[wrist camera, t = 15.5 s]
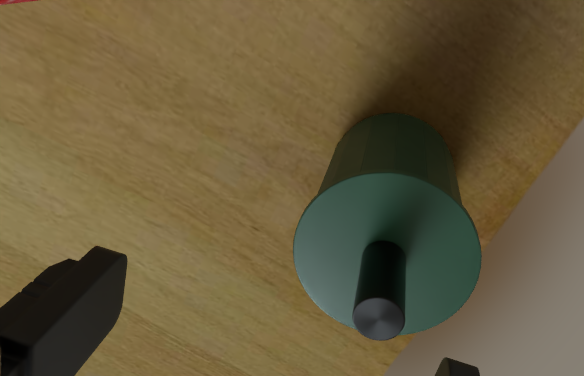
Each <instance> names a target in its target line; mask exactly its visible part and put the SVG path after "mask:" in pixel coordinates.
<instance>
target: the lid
mask: <svg viewBox="0 0 584 376" xmlns="http://www.w3.org/2000/svg"><path fill="white" fill-rule="evenodd" d="M293 256H294V263H295V268H296V272H297V274H298V277H299V279H300V282H301V284H302V285H303V287H304V289H305V291H306V292H307V294H308V295H309V296H310V298H311V299H312V300H313V301H314V302H315V303H316V304H317V306H318V307H319V308H321V309H322V310H323V311H324V312H325V313H326V314H328V315H329V316H331V317H332V318H334V319H335V320H337V321H339V322H340V323H342V324H344V325H346V326H349V327H351V328H354V329H356V330H358V331H359V332H360V333H361V334H362V335H364V336H365V337H367V338H370V339H373V340H388V339H391V338H394V337H396V336H397V335H406V334H412V333H416V332H420V331H424V330H427V329H429V328H432V327H433V326H436V325H438V324H440V323H442V322H443V321H445V320H447V319H448V318H449V317H451V316H452V315H453V314H455V313H456V312H457V311H458V310H459V309H460V308H461V307H462V306H463V305H464V303H465V302H466V301H467V300H468V298H469V297H470V295H471V293H472V292H473V290H474V288H475V286H476V283H477V281H478V278H479V273H480V269H481V257H482V256H481V246H480V241H479V237H478V234H477V230H476V227H475V225H474V223H473V220H472V219H471V217H470V215H469V214H468V212H467V210H466V209H465V208H464V206H463V205H462V204H461V203H460V202H459V200H458V199H457V198H455V197H454V196H453V195H452V194H451V193H450V192H449V191H447V190H446V189H445V188H443V187H442V186H440V185H439V184H437V183H435V182H433V181H431V180H430V179H428V178H425V177H422V176H420V175H417V174H414V173H410V172H406V171H401V170H393V169H374V170H366V171H361V172H357V173H353V174H350V175H347V176H345V177H342V178H340V179H338V180H336V181H335V182H333V183H331V184H329V185H328V186H327V187H325V188H324V189H323V190H321V191H320V192H319V193H318V194H317V195H316V196H315V197H314V198H313V199H312V200H311V202H310V203H309V204H308V206H307V207H306V209H305V210H304V212H303V214H302V216H301V218H300V220H299V223H298V226H297V228H296V232H295V236H294V243H293Z"/></svg>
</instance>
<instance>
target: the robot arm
mask: <svg viewBox="0 0 584 376" xmlns="http://www.w3.org/2000/svg"><path fill="white" fill-rule="evenodd" d="M126 269H127V256H126V255H125V254H122V253H119V252H116V251H112V250H109V249H106V248H103V247H100V246H95V247H94V248H92V249H91V250H90V251H89V252H88V253H87V254H86V255H85V256H84V257H82V258H81V259H80V260H79V261H75V260H72V259H67V260H64V261H62V262H59V263H57V264H55V265H52V266H50V267H48V268H47V269H46V270H44V271H43V272H42V273H41V274H40V275H39V276H37V277H36V278H35V279H34V281H33V282H30V283H29V284H28V285H27V286H26V287H25V288H23V289H22V292H21V293H20V292H19V293H17V294H16V295H15V296H14V297H13V298H12V299H10V300H9V301H8V302H7V303H6V304H5V305H3V306H2V307H1V308H0V376H74V375H75V374H76V373H77V372H78V370H79V369H80V368H81V367H82V365H83V364H84V363H85V362H86V360H87V359H88V358H89V357H90V356H91V354H92V353H93V352H94V351H95V349H96V348H97V347H98V346H99V344H100V343H101V342H102V341H103V339H104V338H105V337H106V336H107V334H108V333H109V332H110V331H111V329H112V328H113V327H114V325H115V323H116V321H117V319H118V317H119V314H120V312H121V308H122V303H123V295H124V286H125V278H126ZM435 376H480V374H479V370H478V368H477V367H475V366H471V365H468V364H465V363H462V362H459V361H456V360H453V359H450V358H444V359H443V360H442V362H441V364H440V366H439V368H438V370H437V372H436V374H435Z"/></svg>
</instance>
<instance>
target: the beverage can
mask: <svg viewBox="0 0 584 376" xmlns="http://www.w3.org/2000/svg"><path fill="white" fill-rule="evenodd" d="M29 1H37V0H0V5H4V4H12V3H20V2H29Z"/></svg>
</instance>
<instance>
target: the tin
mask: <svg viewBox="0 0 584 376" xmlns="http://www.w3.org/2000/svg"><path fill="white" fill-rule="evenodd" d="M374 169H393V170H401V171H406V172H410V173H414V174H417V175H420V176H422V177H425V178H428V179H430V180H431V181H433V182H435V183H437V184H439V185H440V186H442V187H443V188H445V189H446V190H447V191H449V192H450V193H451V194H452V195H453V196H454V197H455V198H457V199H458V200H459V202H460V203H461V204H462V202H461V197H460V192H459V187H458V183H457V178H456V173H455V169H454V164H453V159H452V156H451V154H450V152H449V150H448V147H447V145H446V143H445V141H444V140H443V138H442V137H441V135H439V133H438V132H437V131H436V130H435V129H434V128H433V127H431V126H430V125H429V124H427V123H426V122H424V121H422V120H420V119H418V118H415V117H413V116H410V115H405V114H399V113H385V114H379V115H375V116H372V117H369V118H367V119H364V120H363V121H361V122H359V123H357V124H356V125H355V126H353V127H352V128H351V129H350V130H349V131H348V132H347V133H346V134H345V135H344V137H343V138H342V140H341V141H340V142H339V143H338V145H337V147H336V150H335V152H334V155H333V157H332V160H331V162H330V165H329V167H328V170H327V172H326V175H325V177H324V180H323V182H322V185H321V187H320V190H319V192H320V191H321V190H323V189H324V188H325V187H327V186H328V185H329V184H331V183H333V182H335V181H336V180H338V179H340V178H342V177H345V176H347V175H350V174H353V173H357V172H361V171H366V170H374ZM319 192H318V193H319Z"/></svg>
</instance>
